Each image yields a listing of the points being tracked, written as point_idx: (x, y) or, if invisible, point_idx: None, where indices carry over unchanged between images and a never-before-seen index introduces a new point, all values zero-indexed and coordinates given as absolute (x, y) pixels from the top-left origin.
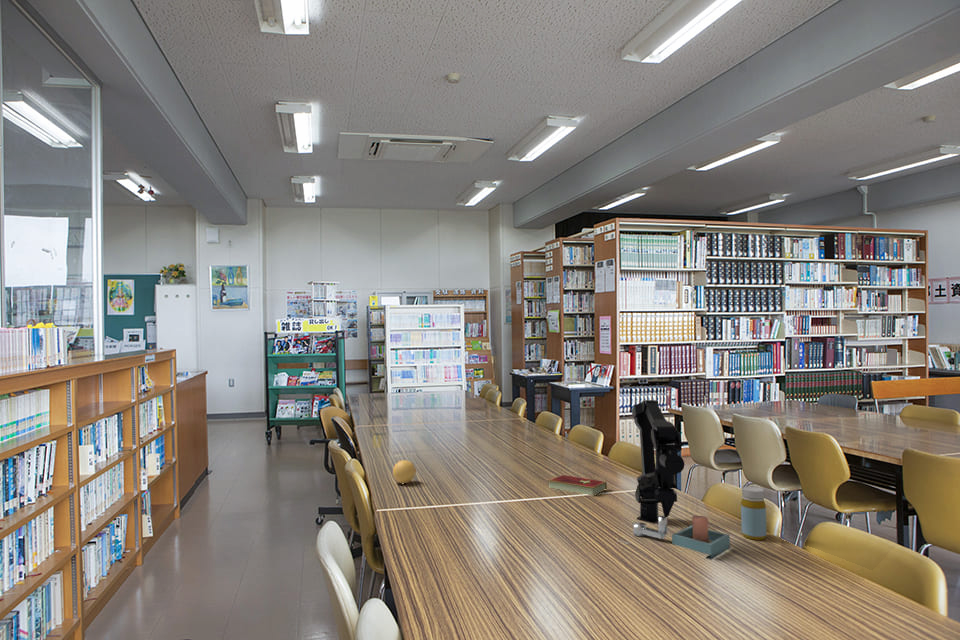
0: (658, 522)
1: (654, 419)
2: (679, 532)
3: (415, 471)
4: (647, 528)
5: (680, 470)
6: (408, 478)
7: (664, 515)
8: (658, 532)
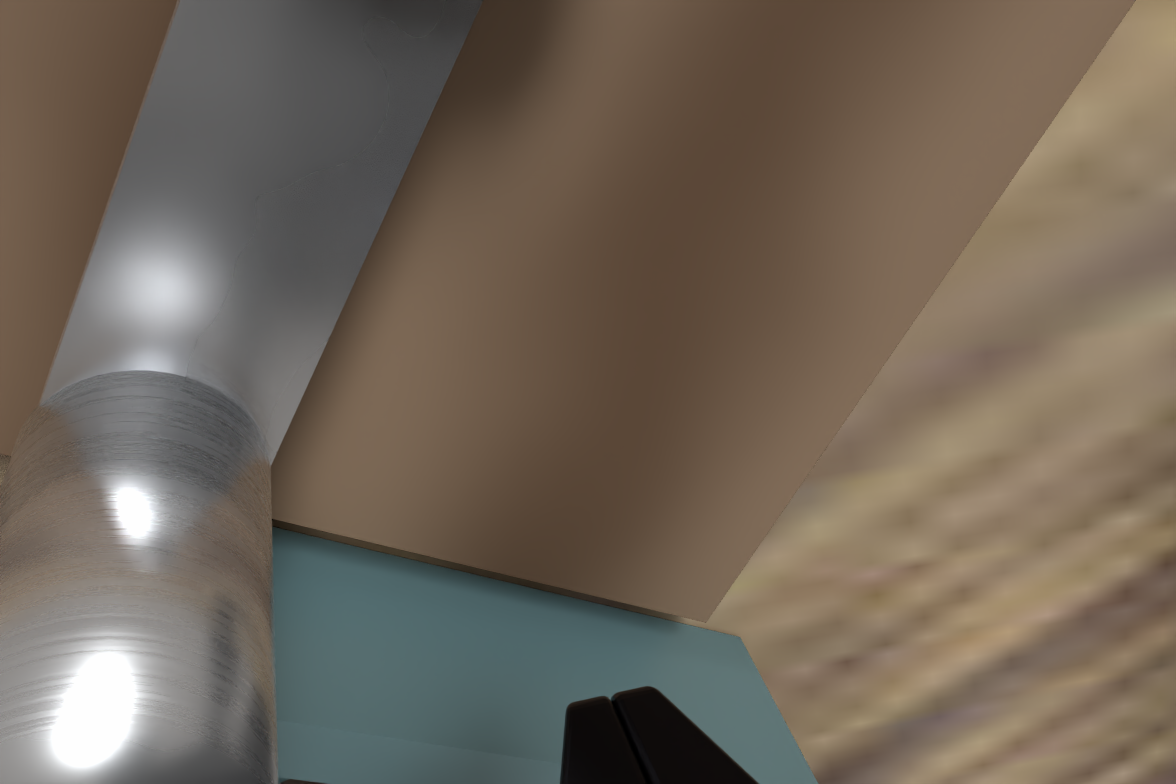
0: (21, 593)
1: None
2: (316, 761)
3: None
4: (366, 17)
5: None
6: None
7: (564, 740)
8: (92, 381)
